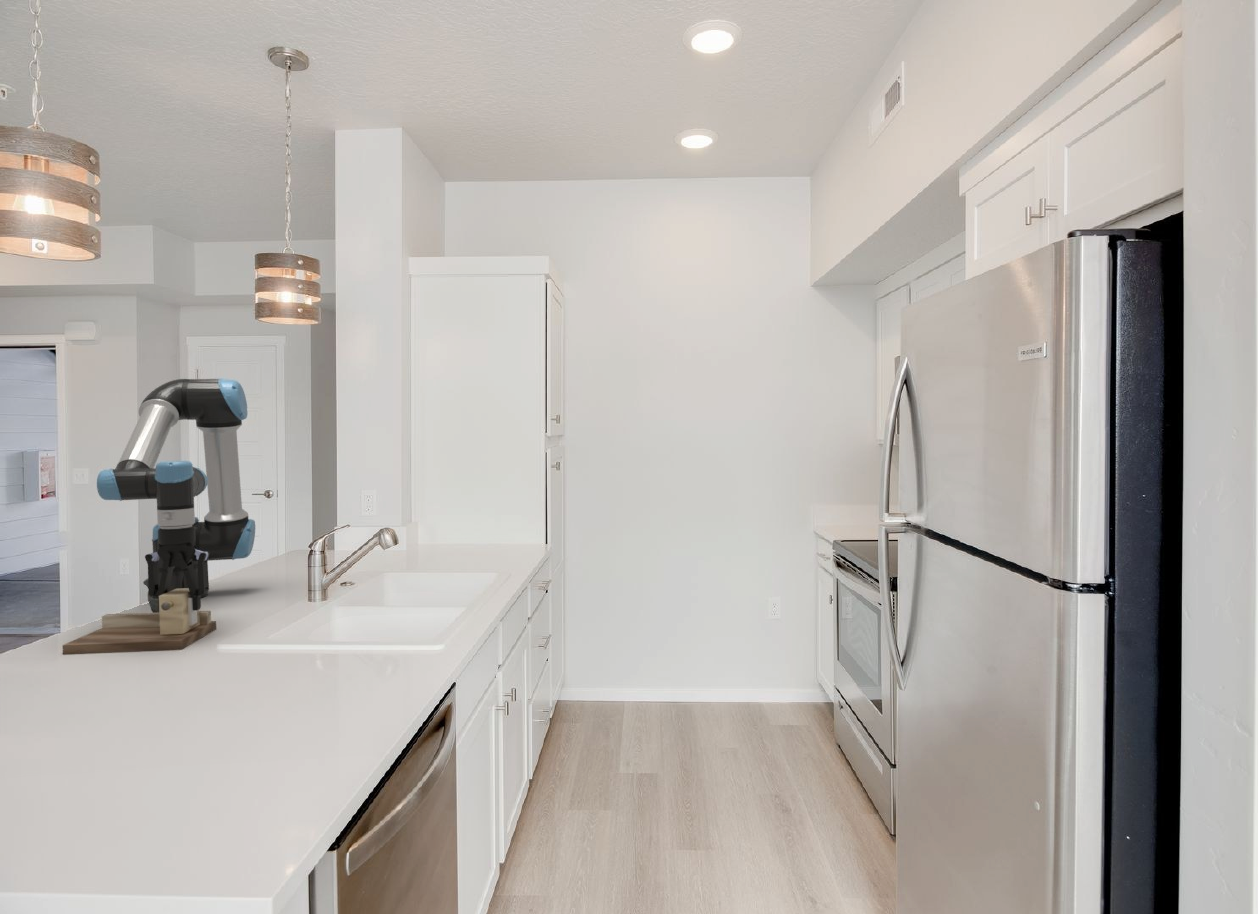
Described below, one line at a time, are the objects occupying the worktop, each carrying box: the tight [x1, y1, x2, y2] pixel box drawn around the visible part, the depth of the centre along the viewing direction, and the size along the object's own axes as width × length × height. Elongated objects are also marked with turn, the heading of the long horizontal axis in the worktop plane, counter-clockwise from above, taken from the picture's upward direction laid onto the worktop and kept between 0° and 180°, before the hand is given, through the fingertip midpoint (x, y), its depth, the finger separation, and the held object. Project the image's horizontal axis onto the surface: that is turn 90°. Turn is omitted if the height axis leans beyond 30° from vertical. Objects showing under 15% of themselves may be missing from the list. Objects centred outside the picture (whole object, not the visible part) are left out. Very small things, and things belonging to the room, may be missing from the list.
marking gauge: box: [159, 588, 200, 635], centre depth 174 cm, size 12×5×9 cm, turn 6°
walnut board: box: [62, 610, 217, 655], centre depth 173 cm, size 17×25×5 cm
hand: (180, 624), depth 174 cm, fingers closed on marking gauge, 5 cm apart
